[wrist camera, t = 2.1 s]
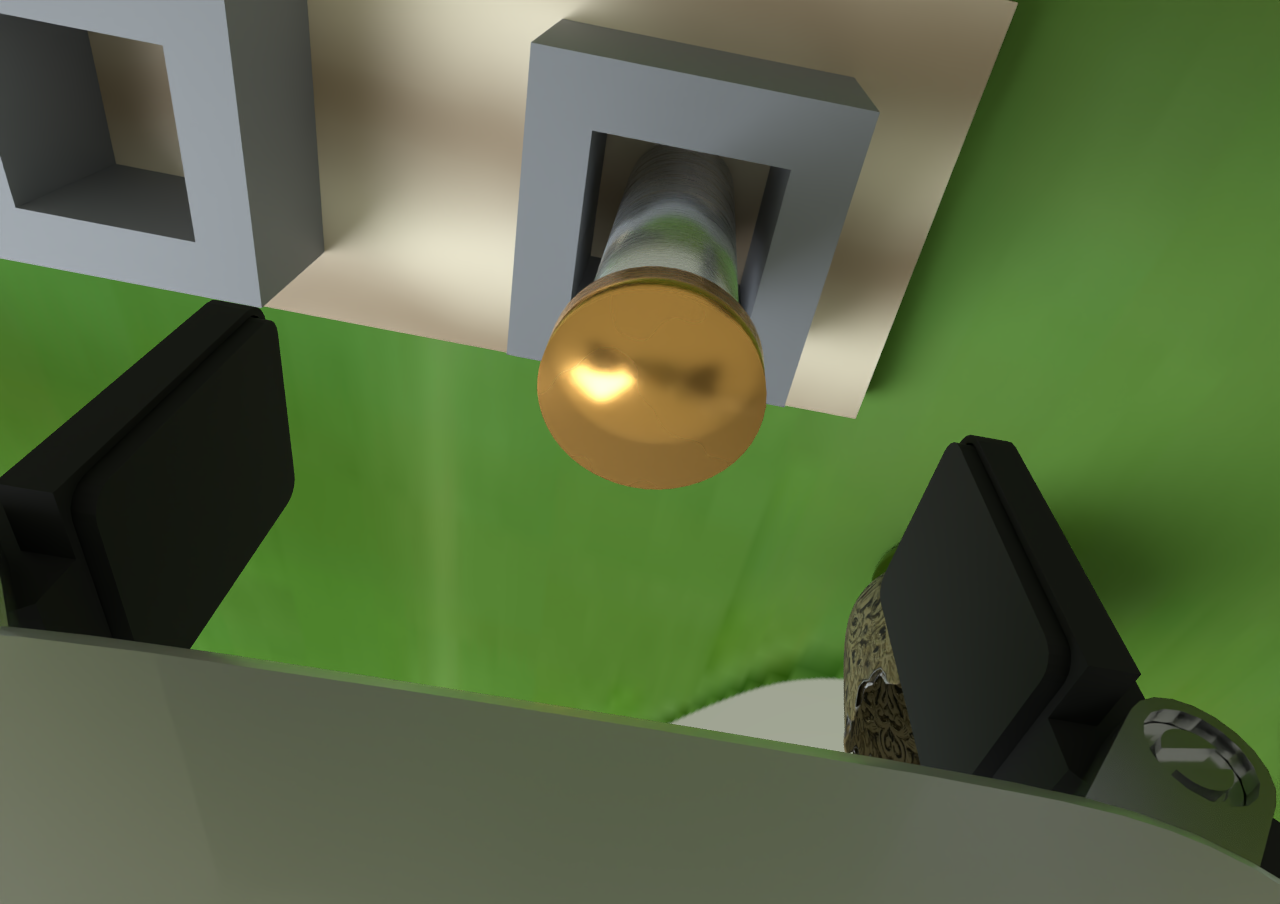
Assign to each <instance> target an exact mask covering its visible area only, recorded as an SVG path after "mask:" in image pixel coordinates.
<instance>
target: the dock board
mask: <svg viewBox="0 0 1280 904" xmlns="http://www.w3.org/2000/svg"><path fill="white" fill-rule="evenodd" d="M307 4H308V18H309V33H310V47H311V62H312V77H313V91H314V106H315V120H316V135H317V149H318V164H319V178H320V193H321V207H322V222H323V236H324V251H325V252H324V253H323V254H322V255H321V256H320V257H319V258H317V259H316V260H315V261H314V262H313V263H312V264H311V265H309V266H308V267H307V268H306V269H305V270H304V271H303V272H302V273H300V274H299V275H298V276H297V277H296V278H295V279H294V280H293V281H291V282H290V283H289V284H288V285H287V286H286V287H285V288H284V289H282V290H281V291H280V292H279V293H278V294H277V295H276V296H275V297H273V298H272V299H271V300H270V301H269V302H268V303H267V304H266V305H264V306H265V307H270V308H276V309H281V310H286V311H291V312H297V313H302V314H307V315H312V316H318V317H323V318H328V319H334V320H339V321H344V322H349V323H355V324H360V325H365V326H370V327H376V328H381V329H386V330H391V331H397V332H402V333H407V334H412V335H418V336H423V337H428V338H433V339H439V340H444V341H449V342H454V343H460V344H465V345H470V346H476V347H481V348H486V349H491V350H497V351H502V352H507V342H508V330H509V317H510V304H511V291H512V278H513V265H514V253H515V240H516V227H517V214H518V201H519V188H520V176H521V163H522V150H523V137H524V124H525V111H526V98H527V86H528V73H529V60H530V47H531V42H532V41H533V40H535V39H536V38H537V37H539V36H540V35H541V34H543V33H544V32H545V31H547V30H548V29H549V28H551V27H552V26H553V25H555V24H556V23H557V22H559V21H560V20H561V19H567V20H571V21H576V22H581V23H586V24H591V25H596V26H601V27H606V28H611V29H616V30H621V31H626V32H631V33H636V34H641V35H646V36H651V37H656V38H661V39H666V40H671V41H676V42H681V43H686V44H691V45H696V46H700V47H705V48H710V49H715V50H720V51H725V52H730V53H735V54H740V55H745V56H750V57H755V58H760V59H765V60H770V61H775V62H780V63H785V64H790V65H795V66H800V67H805V68H810V69H815V70H820V71H825V72H830V73H834V74H839V75H844V76H849V77H854V78H855V79H856V80H857V82H858V83H859V84H860V86H861V87H862V89H863V90H864V91H865V93H866V94H867V95H868V97H869V98H870V99H871V101H872V102H873V104H874V105H875V106H876V108H877V109H878V110H879V112H880V114H879V117H878V120H877V123H876V126H875V129H874V132H873V135H872V139H871V142H870V145H869V148H868V151H867V154H866V157H865V160H864V163H863V166H862V169H861V172H860V175H859V179H858V182H857V185H856V188H855V191H854V194H853V197H852V200H851V203H850V206H849V209H848V212H847V215H846V219H845V222H844V225H843V228H842V231H841V234H840V237H839V240H838V243H837V246H836V249H835V252H834V255H833V259H832V262H831V265H830V268H829V271H828V274H827V277H826V280H825V283H824V286H823V289H822V292H821V295H820V299H819V302H818V305H817V308H816V311H815V314H814V317H813V320H812V323H811V326H810V329H809V332H808V336H807V339H806V342H805V345H804V348H803V351H802V354H801V357H800V360H799V363H798V366H797V369H796V372H795V376H794V379H793V382H792V385H791V388H790V391H789V394H788V397H787V400H786V403H785V405H786V406H791V407H796V408H802V409H807V410H812V411H817V412H823V413H828V414H833V415H838V416H844V417H849V418H854V419H856V416H857V413H858V411H859V408H860V406H861V403H862V401H863V398H864V396H865V393H866V390H867V388H868V385H869V383H870V380H871V378H872V375H873V373H874V370H875V367H876V365H877V362H878V360H879V357H880V355H881V352H882V350H883V347H884V344H885V342H886V339H887V337H888V334H889V332H890V329H891V327H892V324H893V321H894V319H895V316H896V314H897V311H898V309H899V306H900V304H901V301H902V298H903V296H904V293H905V291H906V288H907V286H908V283H909V281H910V278H911V275H912V273H913V270H914V268H915V265H916V263H917V260H918V258H919V255H920V252H921V250H922V247H923V245H924V242H925V240H926V237H927V235H928V232H929V229H930V227H931V224H932V222H933V219H934V217H935V214H936V212H937V209H938V206H939V204H940V201H941V199H942V196H943V194H944V191H945V189H946V186H947V183H948V181H949V178H950V176H951V173H952V171H953V168H954V166H955V163H956V160H957V158H958V155H959V153H960V150H961V148H962V145H963V143H964V140H965V137H966V135H967V132H968V130H969V127H970V125H971V122H972V120H973V117H974V115H975V112H976V109H977V107H978V104H979V102H980V99H981V97H982V94H983V92H984V89H985V86H986V84H987V81H988V79H989V76H990V74H991V71H992V69H993V66H994V63H995V61H996V58H997V56H998V53H999V51H1000V48H1001V46H1002V43H1003V40H1004V38H1005V35H1006V33H1007V30H1008V28H1009V25H1010V23H1011V20H1012V17H1013V15H1014V12H1015V10H1016V7H1017V5H1018V3H1017V2H1014V1H1012V0H307ZM88 35H89V40H90V45H91V49H92V54H93V59H94V63H95V68H96V73H97V77H98V82H99V87H100V91H101V96H102V101H103V105H104V110H105V115H106V119H107V124H108V128H109V133H110V138H111V142H112V147H113V152H114V156H115V161H116V164H120V165H125V166H130V167H135V168H140V169H145V170H150V171H156V172H161V173H166V174H171V175H176V176H181V177H185V176H184V170H183V164H182V158H181V152H180V146H179V140H178V134H177V128H176V122H175V116H174V110H173V104H172V98H171V92H170V86H169V80H168V74H167V68H166V62H165V56H164V50H163V45H158V44H153V43H148V42H143V41H138V40H133V39H128V38H123V37H118V36H113V35H107V34H102V33H97V32H92V31H88ZM657 144H658V143H653V142H648V141H643V140H638V139H633V138H628V137H623V136H618V135H612V134H607V139H606V146H605V154H604V161H603V168H602V176H601V183H600V190H599V198H598V205H597V212H596V219H595V227H594V234H593V241H592V249H591V256H594V257H599V258H602V256H603V253H604V250H605V247H606V244H607V241H608V239H609V236H610V233H611V230H612V227H613V224H614V221H615V218H616V215H617V212H618V209H619V206H620V203H621V200H622V197H623V194H624V191H625V188H626V185H627V182H628V179H629V176H630V174H631V171H632V169H633V167H634V165H635V164H636V162H637V161H638V160H639V158H640V157H641V156H642V155H643V154H644V153H645V152H646V151H648V150H649V149H650V148H652V147H654V146H655V145H657ZM720 157H721V158H722V159H723V161H724V162H725V163H726V165H727V167H728V169H729V171H730V173H731V176H732V179H733V184H734V197H735V224H736V251H737V277H738V284H739V285H740V283H741V279H742V275H743V271H744V267H745V263H746V259H747V255H748V252H749V248H750V244H751V240H752V236H753V232H754V228H755V224H756V221H757V217H758V213H759V209H760V205H761V201H762V197H763V194H764V190H765V186H766V182H767V178H768V174H769V170H770V166H769V165H764V164H759V163H754V162H749V161H744V160H739V159H734V158H729V157H724V156H720Z"/></svg>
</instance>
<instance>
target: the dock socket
mask: <svg viewBox="0 0 1280 904" xmlns="http://www.w3.org/2000/svg"><path fill="white" fill-rule="evenodd" d="M88 31H92V32H97V33H102V34H107V35H113V36H118V37H123V38H128V39H133V40H138V41H143V42H148V43H153V44H158V45H163V50H164V56H165V62H166V68H167V74H168V80H169V86H170V92H171V98H172V104H173V110H174V116H175V122H176V128H177V134H178V140H179V146H180V152H181V158H182V164H183V170H184V176H185V177H181V176H176V175H171V174H166V173H161V172H156V171H150V170H145V169H140V168H135V167H130V166H125V165H120V164H116V161H115V156H114V152H113V147H112V142H111V138H110V133H109V128H108V124H107V119H106V115H105V110H104V105H103V101H102V96H101V91H100V87H99V82H98V77H97V73H96V68H95V63H94V59H93V54H92V49H91V45H90V40H89V35H88ZM324 252H325V251H324V236H323V222H322V207H321V193H320V178H319V164H318V149H317V135H316V120H315V106H314V91H313V77H312V62H311V47H310V33H309V18H308V4H307V0H0V258H2V259H7V260H13V261H18V262H23V263H28V264H34V265H39V266H44V267H50V268H55V269H60V270H65V271H71V272H76V273H81V274H86V275H92V276H97V277H102V278H107V279H113V280H118V281H123V282H128V283H134V284H139V285H144V286H149V287H155V288H160V289H165V290H171V291H176V292H181V293H186V294H192V295H197V296H202V297H207V298H213V299H218V300H223V301H228V302H234V303H239V304H244V305H249V306H255V307H260V308H262V307H263V306H264V305H266V304H267V303H268V302H269V301H270V300H271V299H272V298H273V297H275V296H276V295H277V294H278V293H279V292H280V291H281V290H282V289H284V288H285V287H286V286H287V285H288V284H289V283H290V282H291V281H293V280H294V279H295V278H296V277H297V276H298V275H299V274H300V273H302V272H303V271H304V270H305V269H306V268H307V267H308V266H309V265H311V264H312V263H313V262H314V261H315V260H316V259H317V258H319V257H320V256H321V255H322V254H323V253H324Z"/></svg>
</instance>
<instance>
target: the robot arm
mask: <svg viewBox="0 0 1280 904" xmlns="http://www.w3.org/2000/svg"><path fill="white" fill-rule="evenodd" d="M294 481H295V479H294V467H293V459H292V450H291V442H290V433H289V425H288V416H287V407H286V399H285V390H284V382H283V373H282V365H281V356H280V348H279V339H278V332H277V327H276V325H275V323H274V322H272V321H270V320H265V316H264V314H263V312H262V311H261V310H260V309H259V308H258V307H252V306H247V305H241V304H236V303H230V302H224V301H219V300H211V301H210V302H208V303H206V304H205V305H204V306H203V307H202V308H200V309H199V310H198V311H197V312H196V313H195V314H193V315H192V316H191V317H190V318H189V319H187V320H186V321H185V322H184V323H183V324H181V325H180V326H179V327H178V328H177V329H176V330H174V331H173V332H172V333H171V334H170V335H168V336H167V337H166V338H165V339H164V340H163V341H161V342H160V343H159V344H158V345H157V346H155V347H154V348H153V349H152V350H151V351H149V352H148V353H147V354H146V355H145V356H144V357H142V358H141V359H140V360H139V361H138V362H136V363H135V364H134V365H133V366H132V367H131V368H129V369H128V370H127V371H126V372H125V373H123V374H122V375H121V376H120V377H119V378H117V379H116V380H115V381H114V382H113V383H112V384H110V385H109V386H108V387H107V388H106V389H104V390H103V391H102V392H101V393H100V394H99V395H97V396H96V397H95V398H94V399H93V400H91V401H90V402H89V403H88V404H87V405H85V406H84V407H83V408H82V409H81V410H80V411H78V412H77V413H76V414H75V415H74V416H72V417H71V418H70V419H69V420H68V421H67V422H65V423H64V424H63V425H62V426H61V427H59V428H58V429H57V430H56V431H55V432H54V433H52V434H51V435H50V436H49V437H48V438H46V439H45V440H44V441H43V442H42V443H40V444H39V445H38V446H37V447H36V448H35V449H33V450H32V451H31V452H30V453H29V454H27V455H26V456H25V457H24V458H23V459H22V460H20V461H19V462H18V463H17V464H16V465H14V466H13V467H12V468H11V469H10V470H8V471H7V472H6V473H5V474H4V475H3V476H1V477H0V904H1280V822H1278V821H1277V820H1275V819H1274V818H1273V815H1274V811H1275V808H1276V788H1275V786H1274V783H1273V781H1272V778H1271V776H1270V774H1269V771H1268V769H1267V768H1266V767H1265V765H1264V764H1263V762H1262V761H1261V760H1260V758H1259V757H1258V755H1257V754H1256V753H1255V751H1254V750H1253V749H1252V748H1251V747H1250V746H1249V745H1248V744H1247V743H1246V742H1245V741H1244V740H1243V739H1242V738H1241V737H1240V736H1239V735H1238V734H1237V733H1235V732H1234V731H1233V730H1231V729H1230V728H1229V727H1227V726H1226V725H1225V724H1223V723H1222V722H1220V721H1219V720H1218V719H1216V718H1215V717H1213V716H1211V715H1209V714H1207V713H1206V712H1204V711H1202V710H1200V709H1198V708H1196V707H1194V706H1192V705H1189V704H1186V703H1183V702H1180V701H1177V700H1174V699H1167V698H1157V697H1153V698H1149V699H1145V698H1144V696H1143V694H1142V692H1141V691H1140V689H1139V687H1138V685H1137V683H1136V680H1137V679H1138V677H1139V676H1140V675H1141V673H1140V672H1139V670H1138V668H1137V666H1136V664H1135V662H1134V661H1133V659H1132V657H1131V655H1130V653H1129V652H1128V650H1127V648H1126V646H1125V644H1124V643H1123V641H1122V639H1121V637H1120V635H1119V634H1118V632H1117V630H1116V628H1115V626H1114V624H1113V623H1112V621H1111V619H1110V617H1109V615H1108V614H1107V612H1106V610H1105V608H1104V606H1103V605H1102V603H1101V601H1100V599H1099V597H1098V596H1097V594H1096V592H1095V590H1094V588H1093V586H1092V585H1091V583H1090V581H1089V579H1088V577H1087V576H1086V574H1085V572H1084V570H1083V568H1082V567H1081V565H1080V563H1079V561H1078V559H1077V558H1076V556H1075V554H1074V552H1073V550H1072V548H1071V547H1070V545H1069V543H1068V541H1067V539H1066V538H1065V536H1064V534H1063V532H1062V530H1061V529H1060V527H1059V525H1058V523H1057V521H1056V519H1055V518H1054V516H1053V514H1052V512H1051V510H1050V509H1049V507H1048V505H1047V503H1046V501H1045V500H1044V498H1043V496H1042V494H1041V492H1040V491H1039V489H1038V487H1037V485H1036V483H1035V481H1034V480H1033V478H1032V476H1031V474H1030V472H1029V471H1028V469H1027V467H1026V465H1025V463H1024V462H1023V460H1022V458H1021V456H1020V454H1019V453H1018V451H1017V449H1016V447H1015V446H1014V445H1013V444H1012V443H1011V442H1008V441H1002V440H997V439H991V438H985V437H980V436H974V435H969V436H966V437H965V438H964V439H963V440H962V441H961V442H960V443H955V442H954V443H951V444H950V445H949V446H948V447H947V448H946V450H945V452H944V454H943V456H942V458H941V460H940V462H939V464H938V466H937V468H936V470H935V472H934V474H933V476H932V478H931V480H930V482H929V484H928V486H927V488H926V490H925V492H924V495H923V497H922V499H921V501H920V503H919V505H918V507H917V509H916V511H915V513H914V515H913V517H912V519H911V521H910V523H909V525H908V527H907V529H906V531H905V533H904V535H903V537H902V539H901V541H900V543H899V546H898V548H897V550H896V552H895V554H894V556H893V558H892V560H891V562H890V564H889V566H888V568H887V570H886V572H885V574H884V576H883V579H882V583H881V588H880V601H881V606H882V610H883V614H884V618H885V622H886V626H887V630H888V634H889V638H890V643H891V647H892V651H893V655H894V659H895V663H896V667H897V671H898V675H899V679H900V683H901V687H902V691H903V695H904V700H905V704H906V708H907V712H908V716H909V720H910V724H911V728H912V732H913V736H914V740H915V744H916V748H917V752H918V757H919V761H920V765H915V764H910V763H904V762H899V761H893V760H888V759H881V758H875V757H869V756H863V755H857V754H851V753H845V752H839V751H833V750H827V749H820V748H815V747H809V746H802V745H797V744H790V743H784V742H778V741H772V740H766V739H760V738H754V737H748V736H742V735H735V734H730V733H724V732H718V731H712V730H706V729H700V728H694V727H687V726H681V725H675V724H669V723H662V722H656V721H650V720H644V719H638V718H631V717H625V716H619V715H613V714H606V713H600V712H594V711H588V710H581V709H575V708H569V707H563V706H556V705H550V704H544V703H537V702H531V701H525V700H519V699H512V698H506V697H500V696H493V695H487V694H481V693H474V692H468V691H462V690H455V689H449V688H443V687H436V686H430V685H423V684H417V683H410V682H404V681H397V680H391V679H384V678H378V677H371V676H365V675H358V674H352V673H345V672H339V671H333V670H326V669H320V668H313V667H307V666H300V665H294V664H287V663H281V662H274V661H268V660H261V659H255V658H248V657H242V656H235V655H229V654H221V653H214V652H207V651H200V650H193V649H190V648H191V646H192V645H193V644H194V642H195V641H196V639H197V638H198V636H199V635H200V633H201V632H202V630H203V629H204V627H205V626H206V624H207V623H208V621H209V620H210V618H211V617H212V615H213V614H214V612H215V611H216V609H217V608H218V606H219V605H220V603H221V602H222V600H223V599H224V597H225V596H226V594H227V593H228V591H229V590H230V588H231V587H232V585H233V584H234V582H235V581H236V579H237V578H238V577H239V575H240V574H241V572H242V571H243V569H244V568H245V566H246V565H247V563H248V562H249V560H250V559H251V557H252V556H253V554H254V553H255V551H256V550H257V548H258V547H259V545H260V544H261V542H262V541H263V539H264V538H265V536H266V535H267V533H268V532H269V530H270V529H271V527H272V526H273V524H274V523H275V521H276V520H277V518H278V517H279V515H280V514H281V512H282V511H283V510H284V508H285V507H286V505H287V504H288V502H289V500H290V498H291V495H292V492H293V488H294Z"/></svg>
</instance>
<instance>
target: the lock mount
mask: <svg viewBox="0 0 1280 904" xmlns="http://www.w3.org/2000/svg"><path fill="white" fill-rule="evenodd" d="M879 114H880V112H879V110H878V109H877V108H876V106H875V105H874V104H873V102H872V101H871V99H870V98H869V97H868V95H867V94H866V93H865V91H864V90H863V89H862V87H861V86H860V84H859V83H858V82H857V80H856V79H855V78H854V77H849V76H844V75H839V74H834V73H830V72H825V71H820V70H815V69H810V68H805V67H800V66H795V65H790V64H785V63H780V62H775V61H770V60H765V59H760V58H755V57H750V56H745V55H740V54H735V53H730V52H725V51H720V50H715V49H710V48H705V47H700V46H696V45H691V44H686V43H681V42H676V41H671V40H666V39H661V38H656V37H651V36H646V35H641V34H636V33H631V32H626V31H621V30H616V29H611V28H606V27H601V26H596V25H591V24H586V23H581V22H576V21H571V20H567V19H561V20H560V21H559V22H557V23H556V24H555V25H553V26H552V27H551V28H549V29H548V30H547V31H545V32H544V33H543V34H541V35H540V36H539V37H537V38H536V39H535V40H533V41H532V42H531V47H530V60H529V73H528V86H527V98H526V111H525V124H524V137H523V150H522V163H521V176H520V188H519V201H518V214H517V227H516V240H515V253H514V265H513V278H512V291H511V304H510V317H509V330H508V342H507V355H512V356H518V357H523V358H528V359H534V360H539V361H541V360H542V357H543V354H544V351H545V349H546V346H547V344H548V341H549V339H550V336H551V334H552V331H553V329H554V326H555V324H556V322H557V320H558V318H559V316H560V314H561V313H562V311H563V310H564V309H565V307H566V306H567V304H568V303H569V302H570V301H571V300H572V299H573V298H574V297H575V296H576V295H577V294H578V293H579V292H580V291H581V290H583V289H584V288H585V287H587V286H588V285H589V284H591V283H593V282H594V280H595V277H596V274H597V271H598V268H599V265H600V262H601V259H602V258H599V257H594V256H591V249H592V241H593V234H594V227H595V219H596V212H597V205H598V198H599V190H600V183H601V176H602V168H603V161H604V154H605V146H606V139H607V134H612V135H618V136H623V137H628V138H633V139H638V140H643V141H648V142H653V143H658V144H663V145H668V146H673V147H678V148H683V149H688V150H693V151H698V152H703V153H708V154H713V155H719V156H724V157H729V158H734V159H739V160H744V161H749V162H754V163H759V164H764V165H769V166H770V170H769V174H768V178H767V182H766V186H765V190H764V194H763V197H762V201H761V205H760V209H759V213H758V217H757V221H756V224H755V228H754V232H753V236H752V240H751V244H750V248H749V252H748V255H747V259H746V263H745V267H744V271H743V275H742V279H741V283H740V285H739V284H738V303H739V304H740V305H741V306H742V307H743V309H744V310H745V311H746V313H747V314H748V315H749V317H750V319H751V320H752V322H753V324H754V326H755V328H756V330H757V333H758V335H759V338H760V341H761V345H762V349H763V357H764V368H765V380H766V392H767V397H766V404H770V405H776V406H781V407H784V406H785V403H786V400H787V397H788V394H789V391H790V388H791V385H792V382H793V379H794V376H795V372H796V369H797V366H798V363H799V360H800V357H801V354H802V351H803V348H804V345H805V342H806V339H807V336H808V332H809V329H810V326H811V323H812V320H813V317H814V314H815V311H816V308H817V305H818V302H819V299H820V295H821V292H822V289H823V286H824V283H825V280H826V277H827V274H828V271H829V268H830V265H831V262H832V259H833V255H834V252H835V249H836V246H837V243H838V240H839V237H840V234H841V231H842V228H843V225H844V222H845V219H846V215H847V212H848V209H849V206H850V203H851V200H852V197H853V194H854V191H855V188H856V185H857V182H858V179H859V175H860V172H861V169H862V166H863V163H864V160H865V157H866V154H867V151H868V148H869V145H870V142H871V139H872V135H873V132H874V129H875V126H876V123H877V120H878V117H879Z"/></svg>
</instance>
